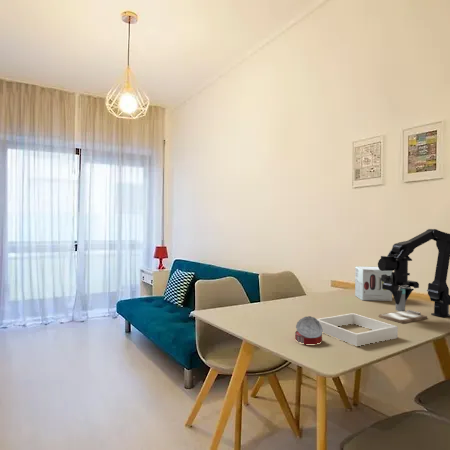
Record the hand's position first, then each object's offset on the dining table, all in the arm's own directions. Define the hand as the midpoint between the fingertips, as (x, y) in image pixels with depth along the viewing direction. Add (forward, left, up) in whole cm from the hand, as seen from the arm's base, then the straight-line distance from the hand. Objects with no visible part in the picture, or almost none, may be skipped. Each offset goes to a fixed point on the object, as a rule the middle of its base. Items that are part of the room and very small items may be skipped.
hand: (400, 303), depth 164 cm
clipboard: (-2, 0, -7) cm, 7 cm away
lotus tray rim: (+37, +7, -7) cm, 39 cm away
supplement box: (-24, -35, -7) cm, 43 cm away
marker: (0, 0, -3) cm, 3 cm away
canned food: (+59, +5, -7) cm, 60 cm away
